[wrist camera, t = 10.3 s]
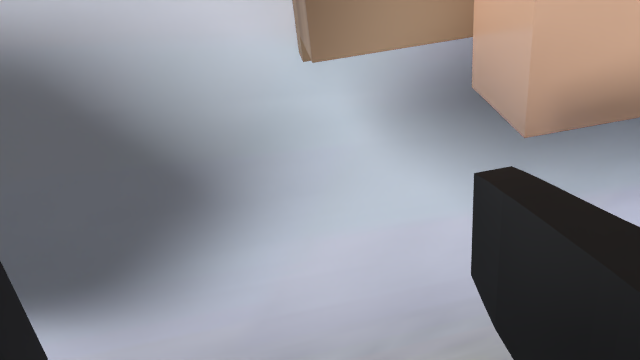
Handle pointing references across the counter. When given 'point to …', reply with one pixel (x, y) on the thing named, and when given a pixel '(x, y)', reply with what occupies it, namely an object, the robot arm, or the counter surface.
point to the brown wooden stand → (377, 25)
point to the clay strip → (558, 62)
